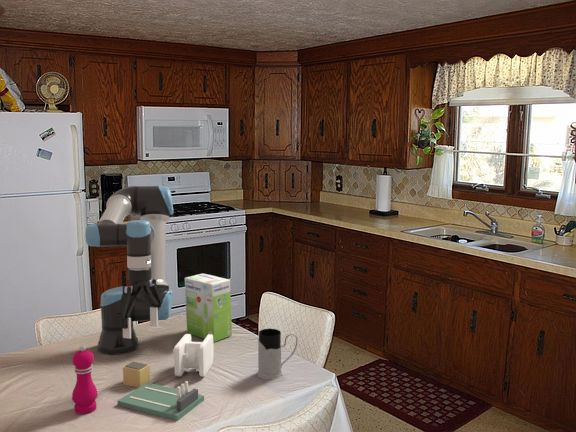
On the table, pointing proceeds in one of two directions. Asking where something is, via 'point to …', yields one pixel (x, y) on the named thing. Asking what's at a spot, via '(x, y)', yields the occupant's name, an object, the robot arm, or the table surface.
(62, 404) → the table surface
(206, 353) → the cable organizer
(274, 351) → the grey mug
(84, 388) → the pepper mill
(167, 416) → the board
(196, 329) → the toothbrush box
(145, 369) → the plug block
